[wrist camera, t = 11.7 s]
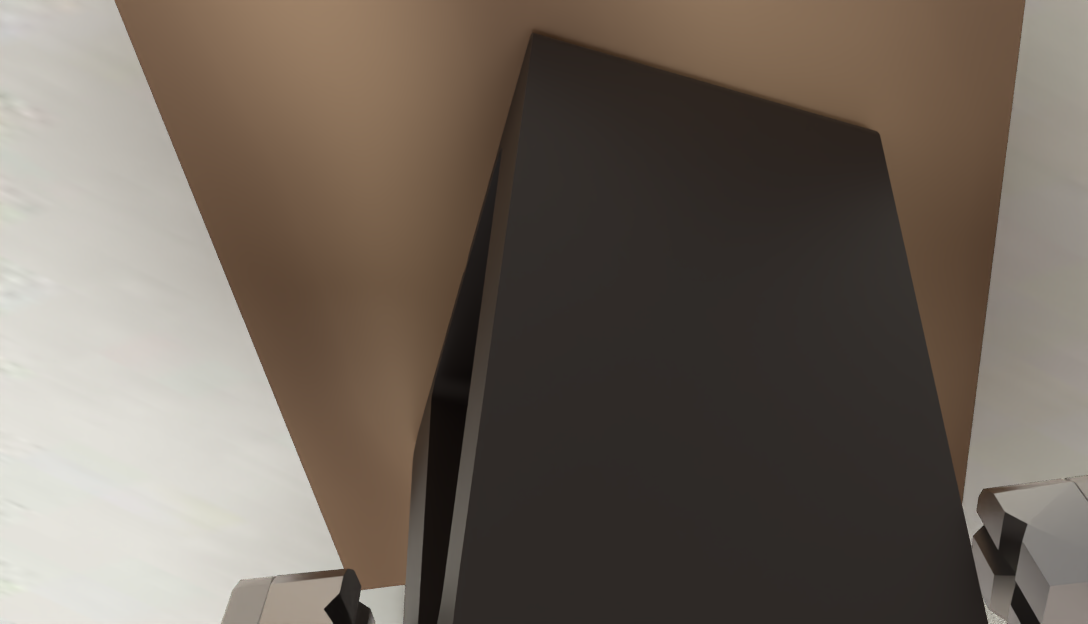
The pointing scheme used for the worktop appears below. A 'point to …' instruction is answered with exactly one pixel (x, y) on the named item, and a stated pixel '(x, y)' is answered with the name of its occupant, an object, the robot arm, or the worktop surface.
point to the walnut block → (466, 165)
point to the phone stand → (683, 374)
